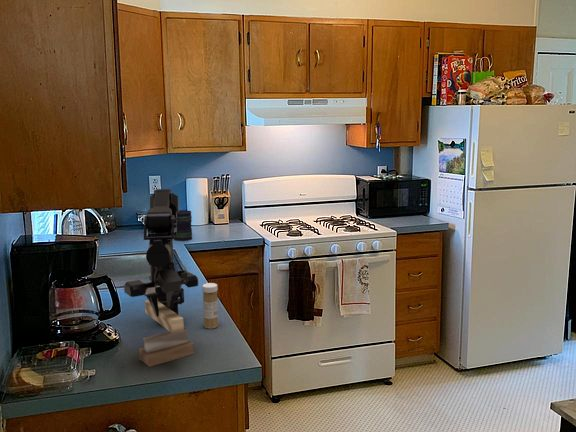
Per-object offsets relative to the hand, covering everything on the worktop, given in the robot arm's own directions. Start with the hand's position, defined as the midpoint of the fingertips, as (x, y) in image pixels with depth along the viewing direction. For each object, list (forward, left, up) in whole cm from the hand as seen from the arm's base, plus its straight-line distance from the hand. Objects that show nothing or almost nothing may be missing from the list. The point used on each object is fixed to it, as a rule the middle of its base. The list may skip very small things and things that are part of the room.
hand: (163, 315), depth 152 cm
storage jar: (-133, +77, -12) cm, 154 cm away
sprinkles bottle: (-11, +21, -12) cm, 26 cm away
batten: (0, 0, -2) cm, 2 cm away
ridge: (+1, 0, -11) cm, 11 cm away
